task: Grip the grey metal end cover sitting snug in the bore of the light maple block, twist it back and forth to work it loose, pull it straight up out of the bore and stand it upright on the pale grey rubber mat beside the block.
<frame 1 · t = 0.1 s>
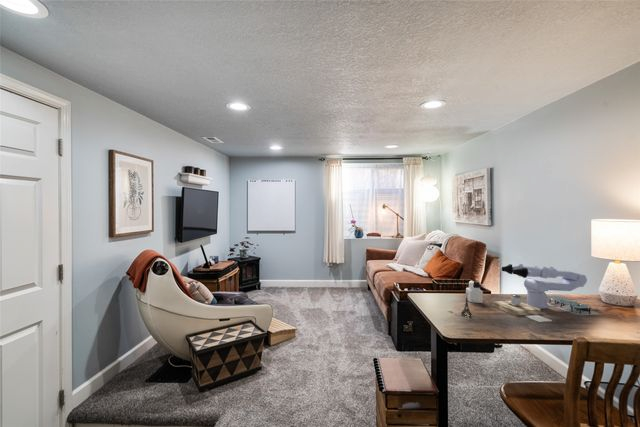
hand: (507, 270, 169), 22 cm above the table, tool horizontal, fingers open, 7 cm apart
eiffel tower figurine: (465, 316, 157), on the table
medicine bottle: (473, 301, 182), on the table
mat: (538, 318, 154), on the table
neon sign: (581, 309, 173), on the table
bore block: (515, 309, 167), on the table
end cover: (515, 302, 167), in the bore block
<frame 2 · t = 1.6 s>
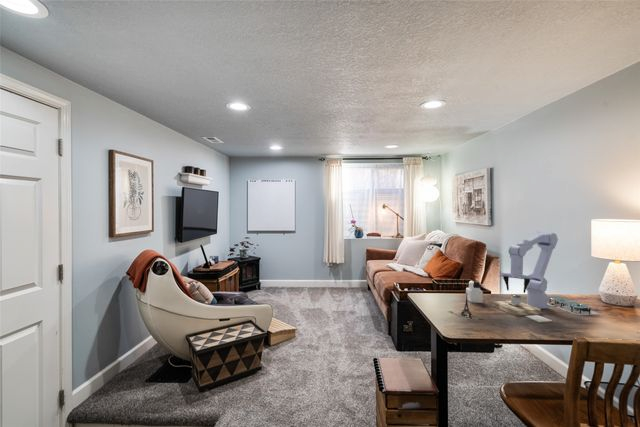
hand: (515, 291, 167), 10 cm above the table, tool pointing down, fingers open, 7 cm apart
nothing on the table moved.
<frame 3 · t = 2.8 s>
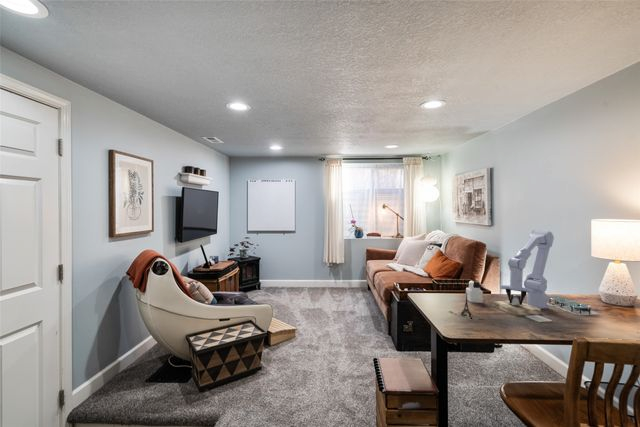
hand: (515, 303, 167), 3 cm above the table, tool pointing down, fingers closed on end cover, 4 cm apart
end cover: (515, 302, 167), in the bore block, touching gripper
everything else where it was.
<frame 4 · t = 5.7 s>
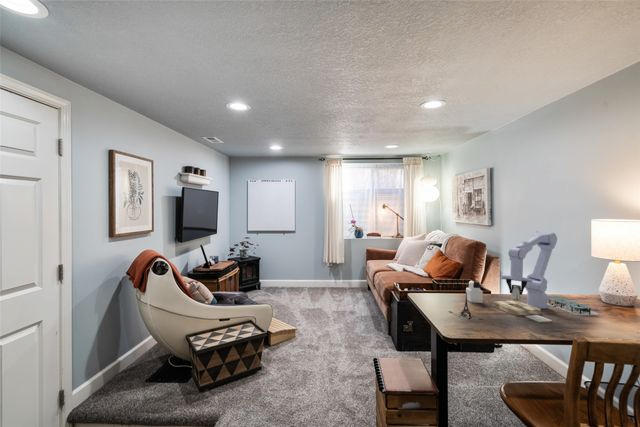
hand: (515, 293, 167), 9 cm above the table, tool pointing down, fingers closed on end cover, 4 cm apart
end cover: (516, 292, 167), point 10 cm above the table, touching gripper
everything else where it was.
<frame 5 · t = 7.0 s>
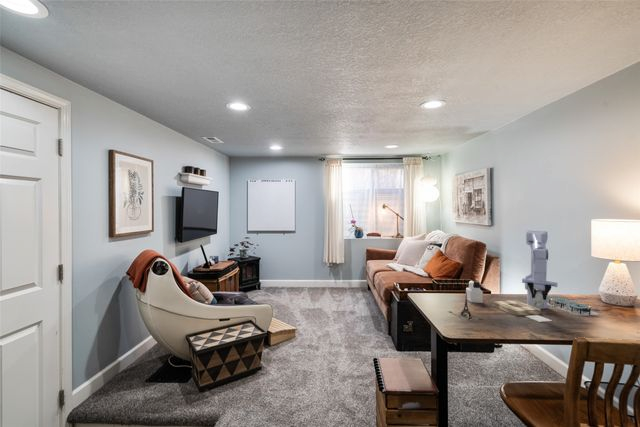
hand: (538, 298, 153), 10 cm above the table, tool pointing down, fingers closed on end cover, 4 cm apart
end cover: (538, 297, 154), point 11 cm above the table, touching gripper
everything else where it was.
when the fingers open (5 cm above the table, at t = 8.4 s): end cover drops 1 cm, resting on mat.
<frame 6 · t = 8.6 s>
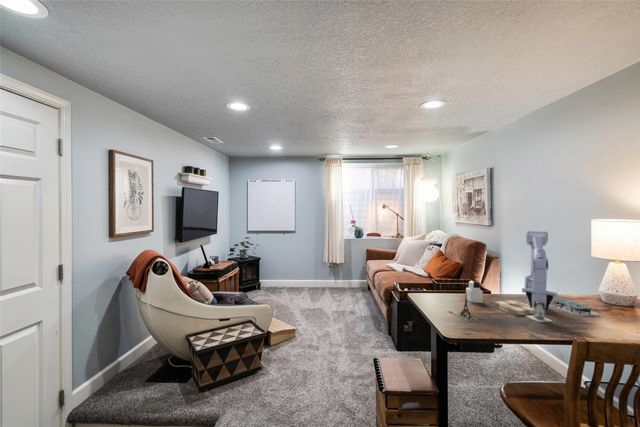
hand: (538, 308, 153), 5 cm above the table, tool pointing down, fingers open, 6 cm apart
end cover: (539, 310, 153), on the mat
everything else where it was.
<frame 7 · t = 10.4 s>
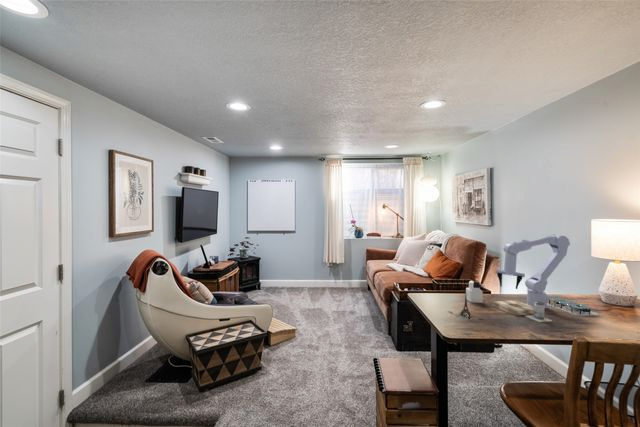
hand: (508, 287, 175), 10 cm above the table, tool pointing down, fingers open, 7 cm apart
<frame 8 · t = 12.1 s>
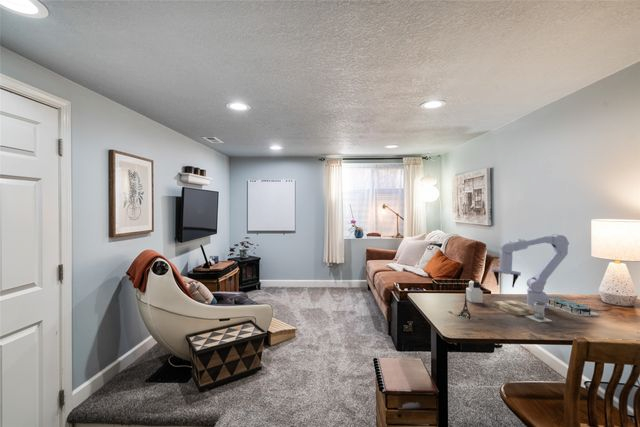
hand: (505, 285, 179), 10 cm above the table, tool pointing down, fingers open, 7 cm apart
at the end: end cover 0.3 cm off-centre on the mat, point 4.4 cm above the mat's base; end cover tilted 0°; the gripper is holding nothing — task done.
